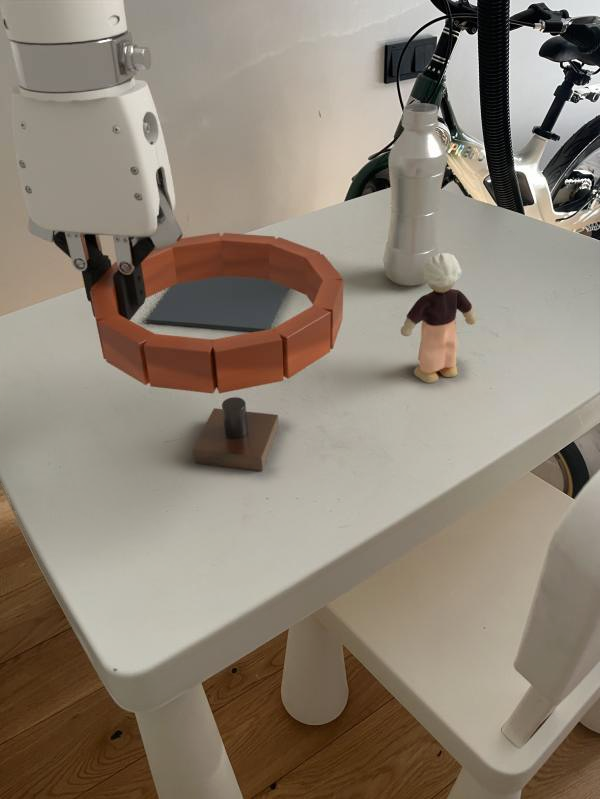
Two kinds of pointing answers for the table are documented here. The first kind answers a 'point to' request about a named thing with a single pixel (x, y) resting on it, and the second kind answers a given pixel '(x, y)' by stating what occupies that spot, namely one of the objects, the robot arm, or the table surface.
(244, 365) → the hoop
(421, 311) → the grandmother figurine
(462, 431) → the table surface
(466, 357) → the table surface
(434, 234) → the plastic bottle
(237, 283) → the mat
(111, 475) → the table surface
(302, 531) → the table surface
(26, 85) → the robot arm
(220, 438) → the post
